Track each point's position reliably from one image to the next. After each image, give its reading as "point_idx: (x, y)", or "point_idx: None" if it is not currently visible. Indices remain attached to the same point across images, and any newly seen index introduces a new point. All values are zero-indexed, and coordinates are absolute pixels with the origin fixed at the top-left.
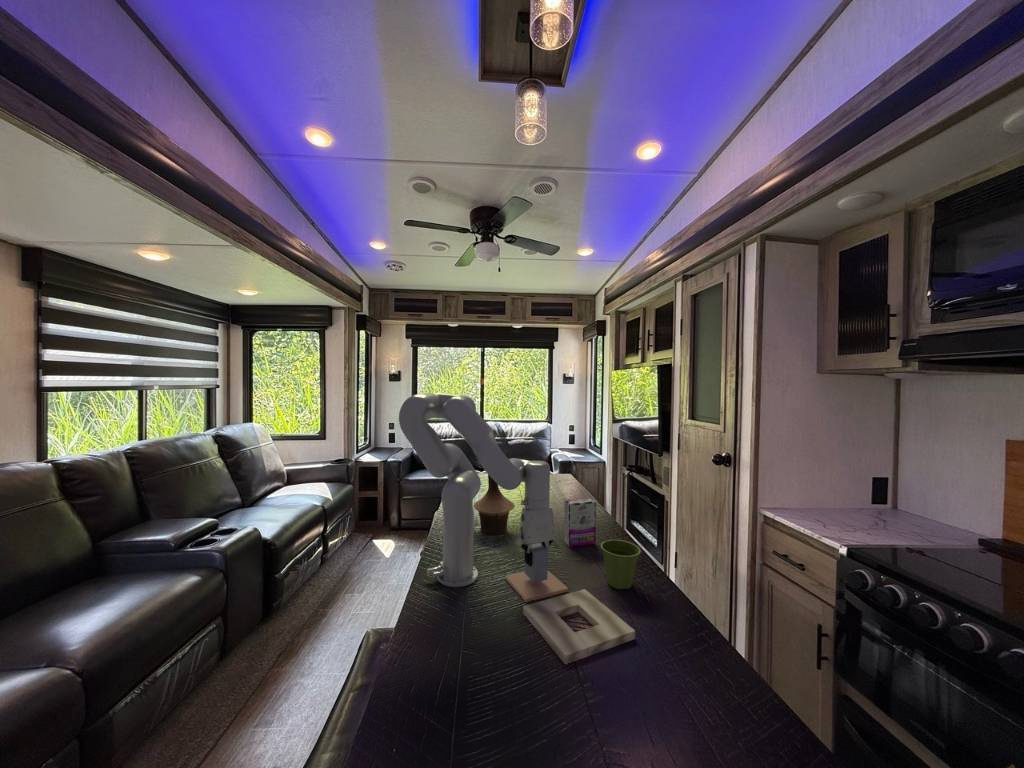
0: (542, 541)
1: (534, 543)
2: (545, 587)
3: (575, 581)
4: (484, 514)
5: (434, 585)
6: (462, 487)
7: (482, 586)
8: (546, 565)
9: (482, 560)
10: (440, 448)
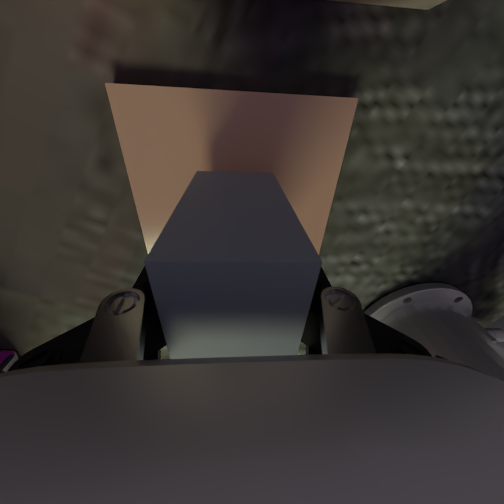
0: (207, 368)
1: (362, 356)
2: (219, 148)
3: (44, 152)
4: None
5: (475, 310)
6: None
7: (391, 265)
8: (192, 196)
9: None
10: None
